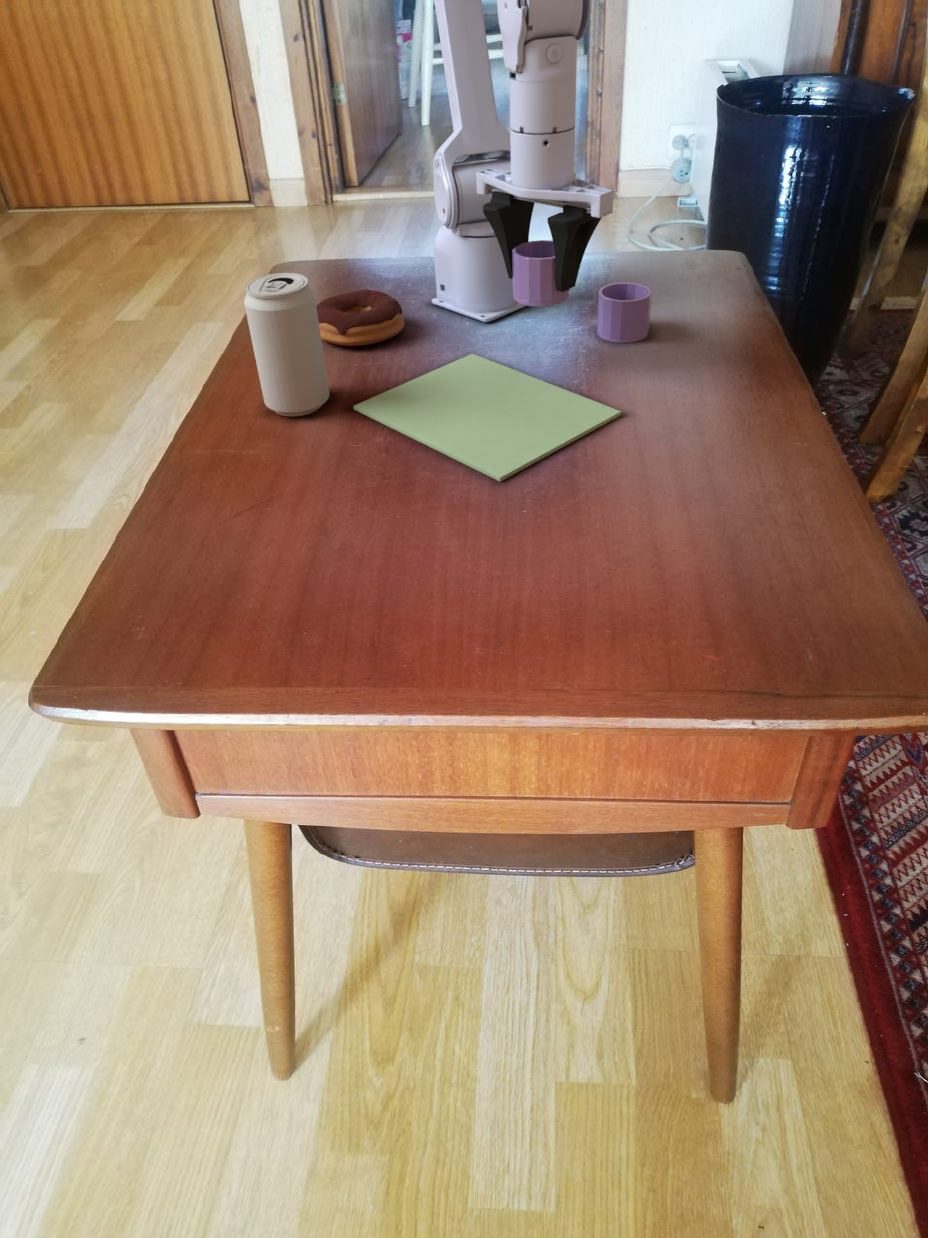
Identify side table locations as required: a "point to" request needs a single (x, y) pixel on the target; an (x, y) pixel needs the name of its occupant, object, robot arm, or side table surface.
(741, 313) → the side table surface
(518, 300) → the purple plastic cup
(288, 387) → the beverage can
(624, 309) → the faceted lilac cup
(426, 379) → the placemat
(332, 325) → the donut
